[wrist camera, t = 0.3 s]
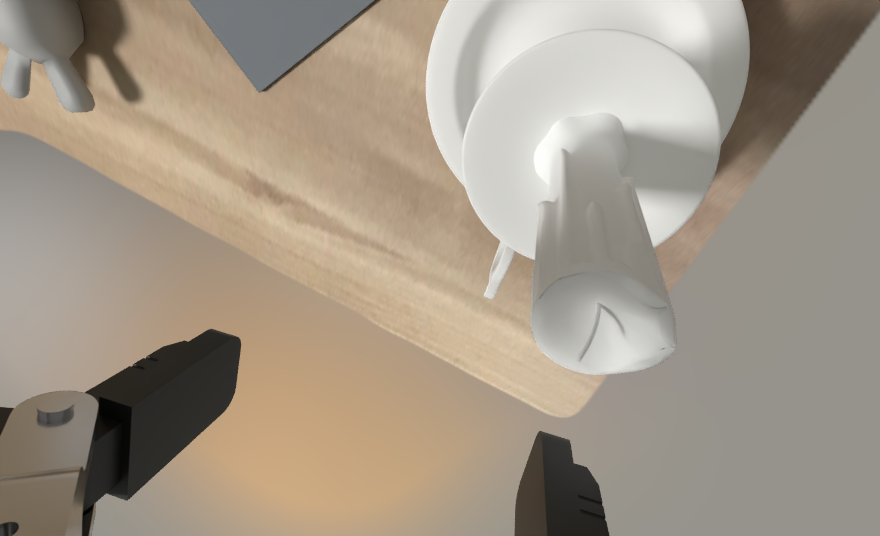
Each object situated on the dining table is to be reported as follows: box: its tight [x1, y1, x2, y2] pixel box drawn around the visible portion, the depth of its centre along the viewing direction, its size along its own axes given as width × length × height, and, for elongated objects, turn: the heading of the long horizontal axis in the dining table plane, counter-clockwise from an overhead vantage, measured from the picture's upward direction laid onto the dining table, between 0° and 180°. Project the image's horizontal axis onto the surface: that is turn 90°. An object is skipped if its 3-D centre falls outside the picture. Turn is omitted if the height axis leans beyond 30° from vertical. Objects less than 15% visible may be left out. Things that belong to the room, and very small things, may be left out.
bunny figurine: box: [0, 0, 95, 113], centre depth 38 cm, size 10×5×15 cm
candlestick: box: [426, 0, 750, 375], centre depth 25 cm, size 21×25×28 cm
